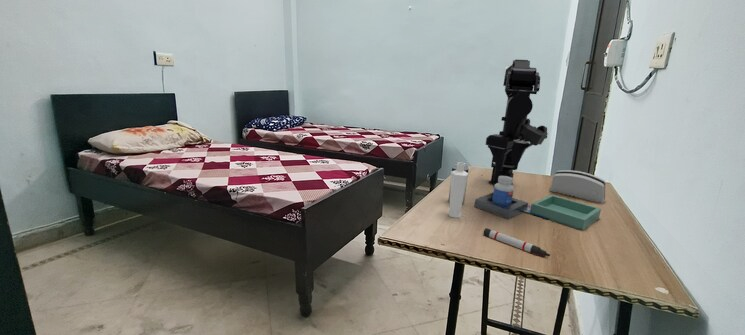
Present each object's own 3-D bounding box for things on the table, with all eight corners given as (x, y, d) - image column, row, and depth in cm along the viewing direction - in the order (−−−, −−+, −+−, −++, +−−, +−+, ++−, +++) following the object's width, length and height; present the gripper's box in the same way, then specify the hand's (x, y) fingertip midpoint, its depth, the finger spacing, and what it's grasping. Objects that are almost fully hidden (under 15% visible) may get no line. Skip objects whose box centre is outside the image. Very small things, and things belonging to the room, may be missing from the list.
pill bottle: (508, 213, 100) (513, 181, 97) (489, 209, 102) (493, 177, 100) (511, 208, 104) (517, 177, 101) (493, 204, 107) (498, 173, 104)
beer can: (446, 203, 105) (451, 165, 102) (449, 198, 109) (454, 162, 106) (462, 206, 103) (467, 167, 100) (465, 201, 108) (469, 164, 104)
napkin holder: (605, 199, 117) (611, 175, 112) (602, 207, 114) (608, 182, 109) (552, 187, 127) (554, 164, 122) (548, 194, 124) (550, 171, 119)
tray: (529, 213, 101) (531, 203, 100) (549, 203, 110) (551, 194, 109) (582, 230, 91) (584, 220, 90) (598, 218, 100) (601, 208, 99)
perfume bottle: (453, 219, 93) (460, 166, 89) (443, 213, 97) (449, 162, 93) (466, 217, 95) (474, 164, 91) (456, 211, 99) (462, 160, 95)
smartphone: (509, 198, 112) (558, 213, 101) (509, 200, 112) (558, 215, 101) (498, 203, 107) (548, 219, 96) (498, 205, 107) (548, 221, 96)
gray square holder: (474, 206, 103) (475, 199, 103) (493, 199, 111) (494, 192, 110) (509, 219, 96) (510, 210, 95) (526, 210, 103) (528, 202, 102)
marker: (482, 236, 85) (483, 229, 84) (486, 234, 86) (487, 226, 86) (548, 261, 75) (549, 253, 74) (551, 258, 76) (552, 250, 76)
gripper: (530, 119, 84) (519, 180, 88) (559, 116, 96) (549, 170, 100) (488, 114, 92) (480, 170, 96) (521, 111, 104) (512, 161, 108)
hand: (507, 168), depth 100 cm, fingers open, 9 cm apart
